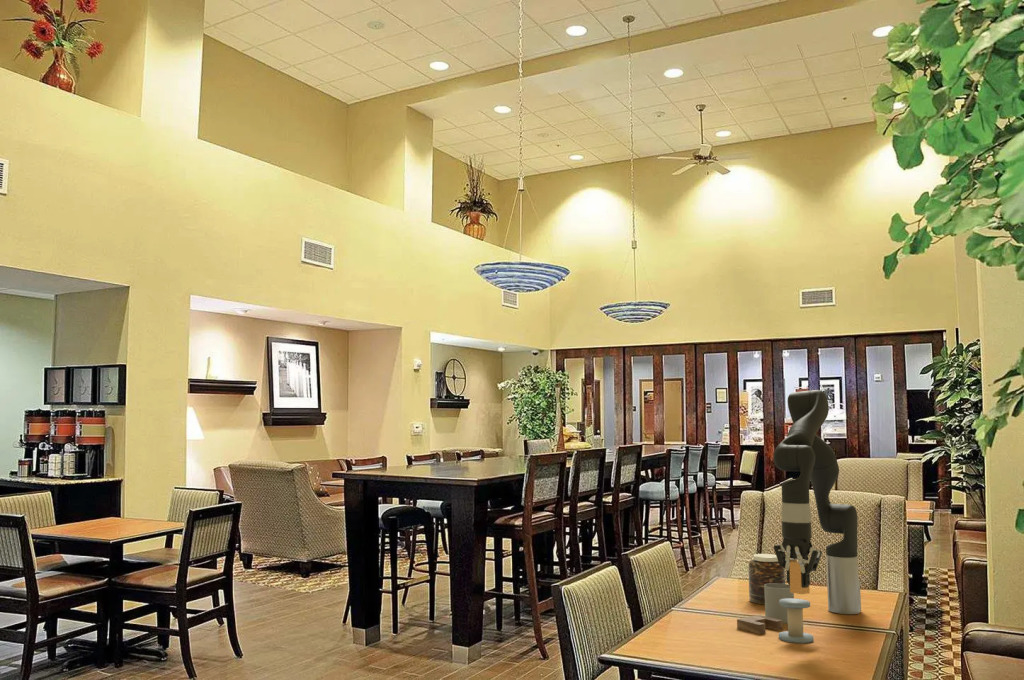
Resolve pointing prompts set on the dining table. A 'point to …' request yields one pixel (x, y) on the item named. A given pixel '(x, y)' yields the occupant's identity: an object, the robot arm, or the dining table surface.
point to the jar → (763, 575)
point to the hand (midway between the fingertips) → (798, 585)
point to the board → (759, 624)
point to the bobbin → (795, 621)
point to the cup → (776, 600)
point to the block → (796, 579)
